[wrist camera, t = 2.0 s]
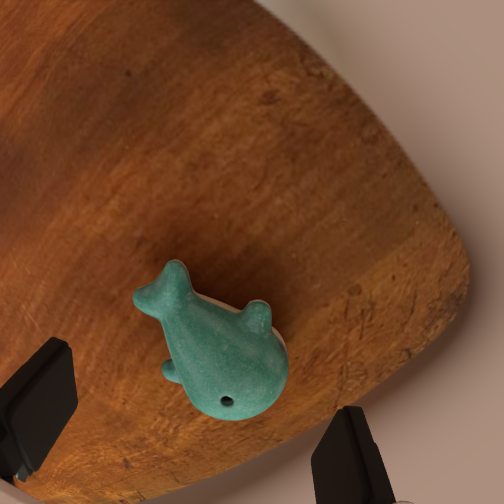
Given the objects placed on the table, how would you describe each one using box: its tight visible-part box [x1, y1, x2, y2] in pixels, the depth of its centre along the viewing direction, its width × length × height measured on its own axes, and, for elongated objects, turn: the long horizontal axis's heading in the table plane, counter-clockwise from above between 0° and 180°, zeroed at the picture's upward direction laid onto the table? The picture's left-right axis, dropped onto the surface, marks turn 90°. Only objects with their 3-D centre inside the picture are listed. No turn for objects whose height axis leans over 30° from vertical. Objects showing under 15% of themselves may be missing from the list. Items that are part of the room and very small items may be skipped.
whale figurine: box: [133, 260, 289, 421], centre depth 12 cm, size 6×7×4 cm
